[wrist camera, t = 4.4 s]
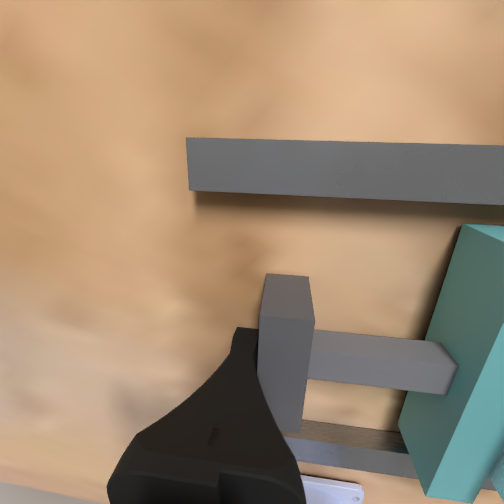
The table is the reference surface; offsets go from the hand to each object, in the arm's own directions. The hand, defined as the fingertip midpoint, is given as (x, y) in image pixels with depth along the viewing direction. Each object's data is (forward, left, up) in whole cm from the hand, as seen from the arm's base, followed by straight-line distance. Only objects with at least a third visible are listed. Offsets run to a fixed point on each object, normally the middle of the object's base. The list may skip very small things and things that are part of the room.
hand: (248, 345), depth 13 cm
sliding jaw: (0, -6, -2) cm, 6 cm away
